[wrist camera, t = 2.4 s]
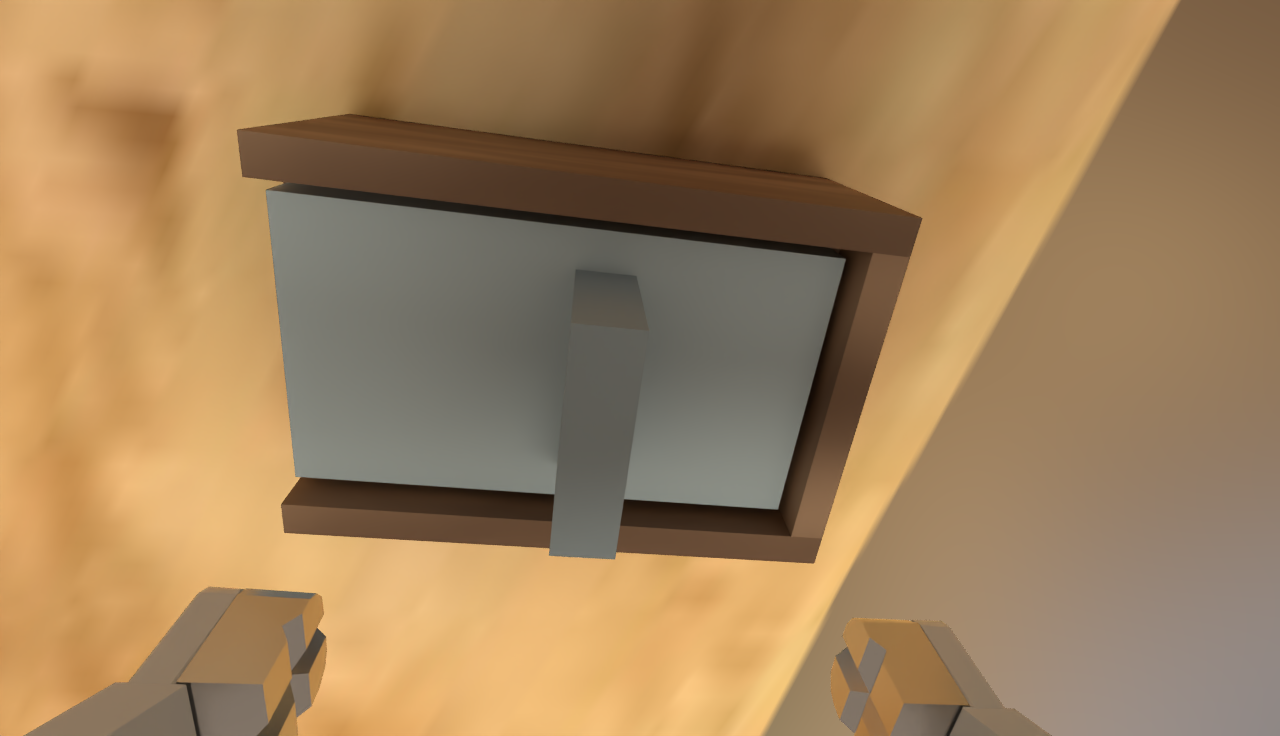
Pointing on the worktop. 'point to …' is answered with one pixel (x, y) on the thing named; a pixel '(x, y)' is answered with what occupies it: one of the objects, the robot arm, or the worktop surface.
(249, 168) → the lid box
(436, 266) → the lid
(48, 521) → the worktop surface
